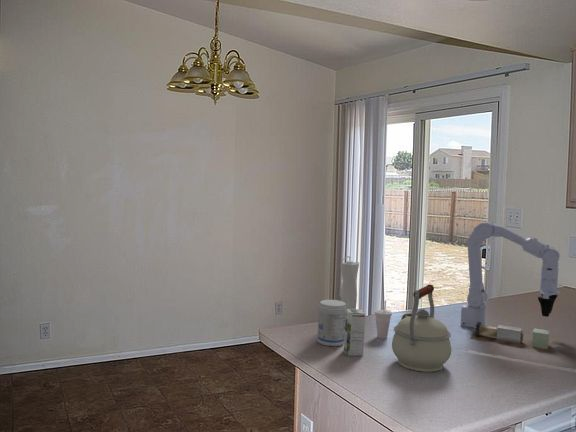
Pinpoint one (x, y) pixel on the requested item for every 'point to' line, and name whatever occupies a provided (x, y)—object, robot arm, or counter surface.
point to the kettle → (422, 338)
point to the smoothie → (382, 322)
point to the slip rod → (489, 331)
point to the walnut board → (523, 344)
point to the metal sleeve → (509, 334)
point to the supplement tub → (331, 322)
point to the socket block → (540, 338)
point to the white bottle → (349, 283)
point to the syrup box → (354, 332)
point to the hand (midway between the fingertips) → (546, 314)
